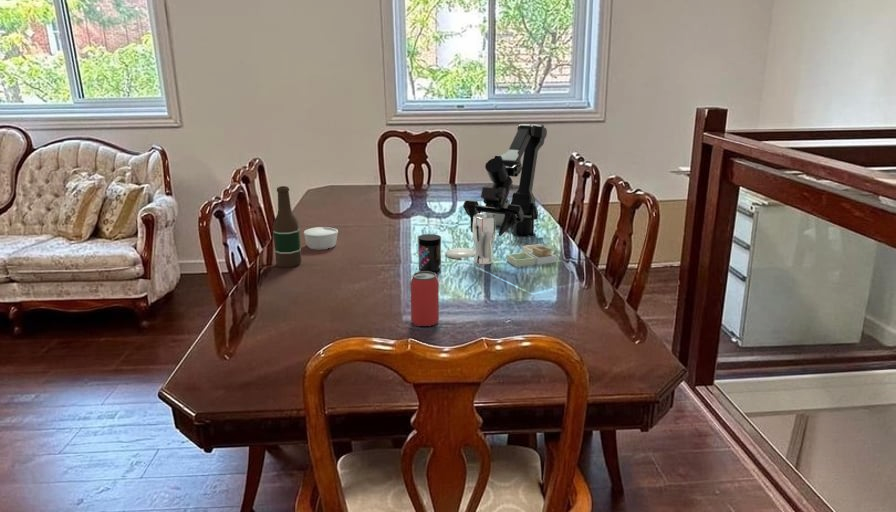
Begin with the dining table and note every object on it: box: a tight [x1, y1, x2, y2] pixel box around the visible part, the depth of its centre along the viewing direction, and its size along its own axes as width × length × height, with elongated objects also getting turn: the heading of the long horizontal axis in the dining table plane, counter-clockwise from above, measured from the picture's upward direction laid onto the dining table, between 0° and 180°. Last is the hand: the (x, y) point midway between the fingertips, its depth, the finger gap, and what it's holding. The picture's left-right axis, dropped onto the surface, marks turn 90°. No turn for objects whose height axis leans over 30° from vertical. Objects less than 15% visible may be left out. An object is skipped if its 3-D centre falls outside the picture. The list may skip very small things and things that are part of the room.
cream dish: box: [521, 243, 544, 254], centre depth 196 cm, size 6×6×2 cm
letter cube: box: [533, 245, 552, 258], centre depth 189 cm, size 4×4×4 cm
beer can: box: [409, 271, 440, 327], centre depth 144 cm, size 7×7×12 cm
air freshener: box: [490, 197, 511, 227], centre depth 232 cm, size 11×8×10 cm
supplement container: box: [417, 233, 442, 274], centre depth 180 cm, size 7×7×10 cm
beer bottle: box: [272, 185, 302, 269], centre depth 184 cm, size 8×8×24 cm
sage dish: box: [506, 252, 536, 268], centre depth 187 cm, size 6×6×2 cm
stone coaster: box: [445, 247, 475, 260], centre depth 197 cm, size 10×10×1 cm
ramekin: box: [303, 226, 339, 251], centre depth 206 cm, size 11×11×5 cm
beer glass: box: [472, 212, 497, 265], centre depth 187 cm, size 7×7×15 cm
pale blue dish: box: [528, 252, 557, 266], centre depth 189 cm, size 6×6×2 cm
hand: (485, 233), depth 187 cm, fingers open, 9 cm apart
